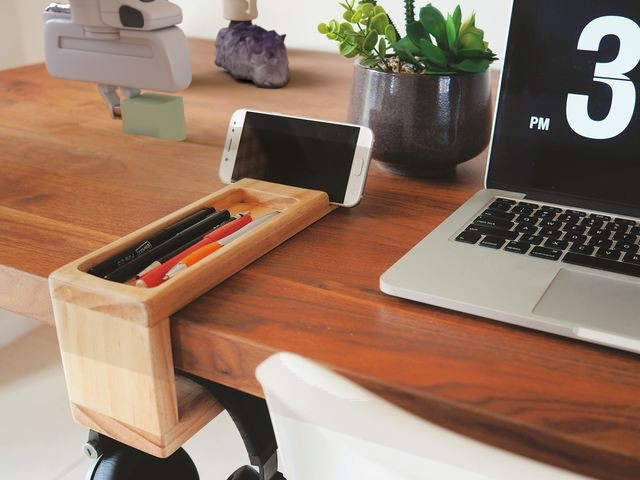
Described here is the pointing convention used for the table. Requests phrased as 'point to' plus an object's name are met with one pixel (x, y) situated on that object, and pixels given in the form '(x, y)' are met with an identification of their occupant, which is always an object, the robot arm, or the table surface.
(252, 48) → the geode
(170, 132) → the cube
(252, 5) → the character mug
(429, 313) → the table surface
